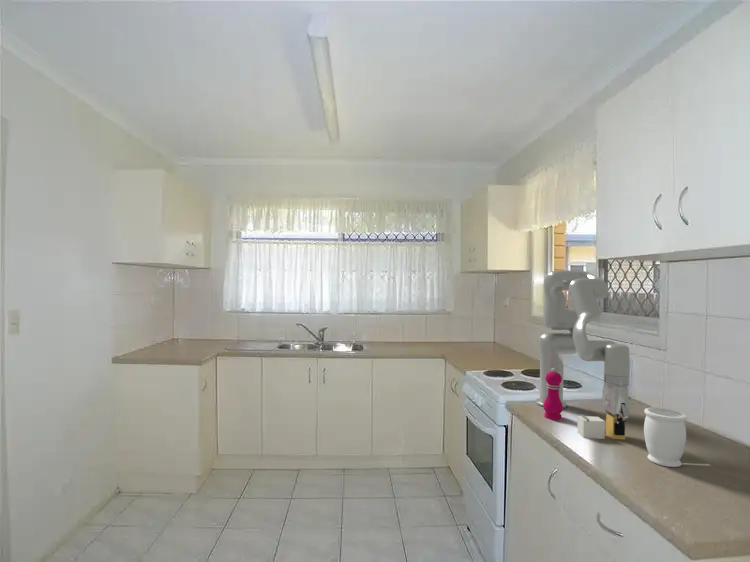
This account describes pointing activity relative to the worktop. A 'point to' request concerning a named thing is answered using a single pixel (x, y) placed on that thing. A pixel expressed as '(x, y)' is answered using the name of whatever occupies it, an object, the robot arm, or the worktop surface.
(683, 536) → the worktop surface
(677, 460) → the jar
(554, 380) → the pepper mill
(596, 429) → the ticket
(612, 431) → the stub
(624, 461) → the worktop surface
